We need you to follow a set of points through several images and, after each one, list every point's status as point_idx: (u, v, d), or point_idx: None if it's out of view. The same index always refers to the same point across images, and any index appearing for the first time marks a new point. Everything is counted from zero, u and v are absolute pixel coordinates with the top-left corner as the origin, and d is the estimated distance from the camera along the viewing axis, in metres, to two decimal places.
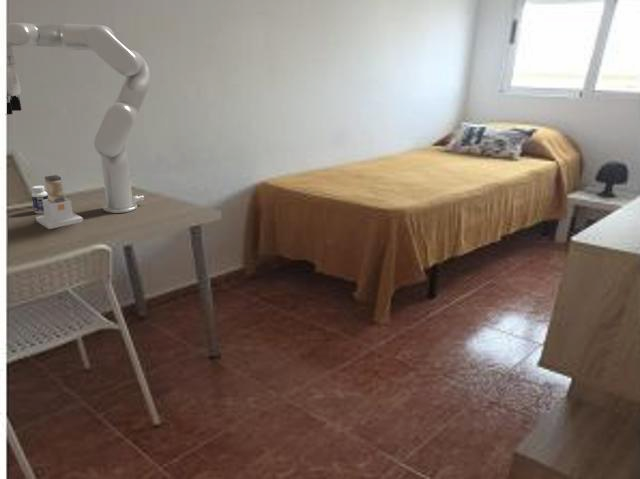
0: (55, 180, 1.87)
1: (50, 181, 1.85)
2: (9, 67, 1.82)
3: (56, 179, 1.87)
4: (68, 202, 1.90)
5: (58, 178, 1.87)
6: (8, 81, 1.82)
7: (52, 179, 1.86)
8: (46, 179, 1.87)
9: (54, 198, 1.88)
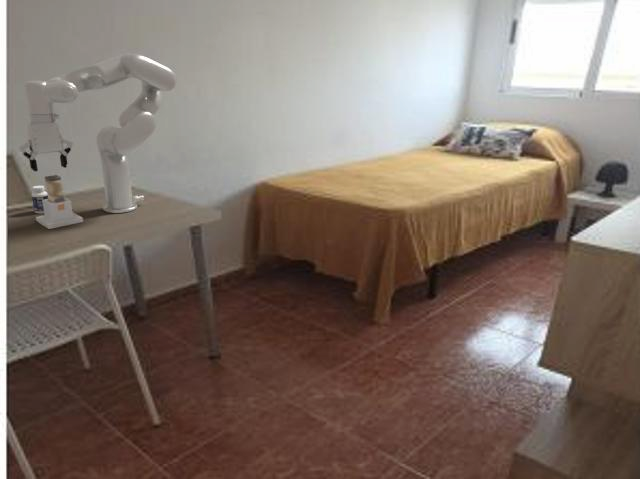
0: (55, 180, 1.87)
1: (50, 181, 1.85)
2: None
3: (56, 179, 1.87)
4: (68, 202, 1.90)
5: (58, 178, 1.87)
6: None
7: (52, 179, 1.86)
8: (46, 179, 1.87)
9: (54, 198, 1.88)
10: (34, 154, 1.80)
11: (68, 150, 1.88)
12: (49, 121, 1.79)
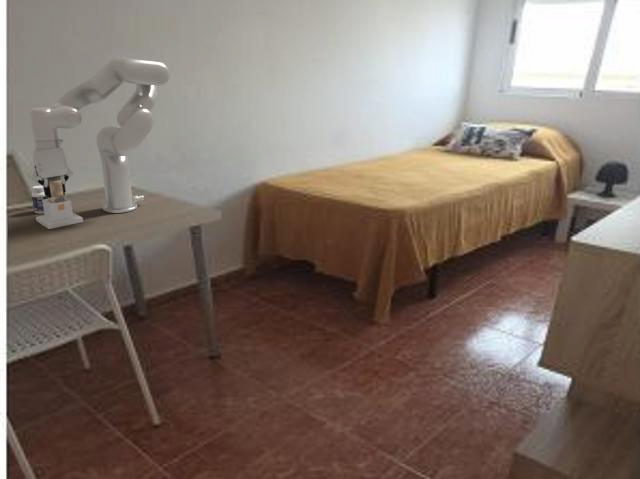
0: (55, 180, 1.87)
1: (50, 181, 1.85)
2: None
3: (56, 179, 1.87)
4: (68, 202, 1.90)
5: (58, 178, 1.87)
6: None
7: (52, 179, 1.86)
8: None
9: (54, 198, 1.88)
10: (45, 181, 1.85)
11: (66, 178, 1.90)
12: (54, 147, 1.82)
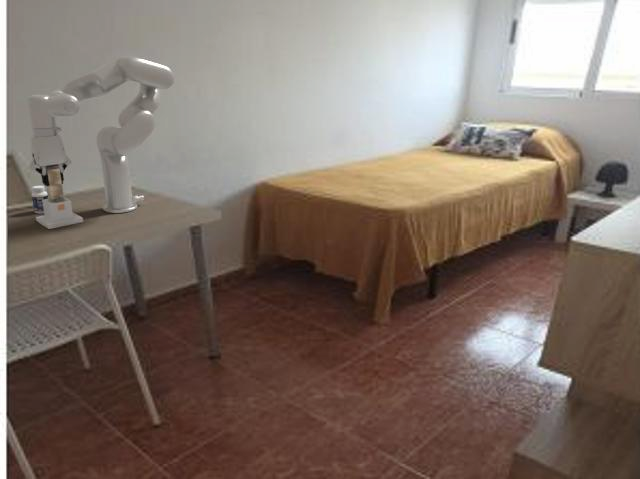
0: (54, 168, 1.85)
1: (48, 169, 1.84)
2: None
3: (54, 168, 1.85)
4: (68, 202, 1.90)
5: (56, 167, 1.86)
6: None
7: (50, 167, 1.84)
8: None
9: (52, 187, 1.86)
10: (43, 169, 1.83)
11: (64, 166, 1.89)
12: (52, 134, 1.80)
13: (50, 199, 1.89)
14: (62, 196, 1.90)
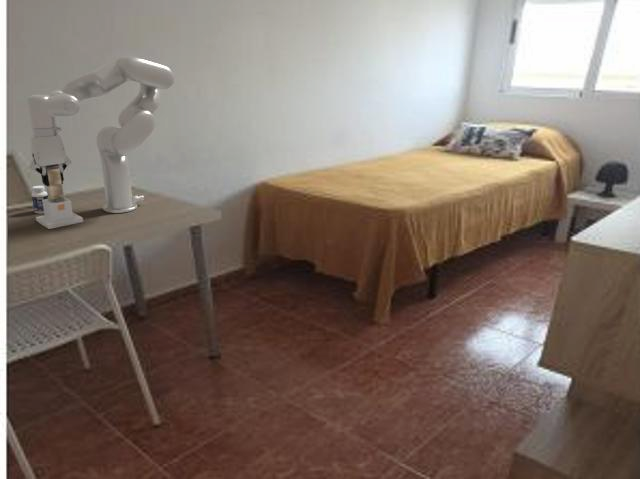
0: (54, 168, 1.85)
1: (48, 169, 1.84)
2: None
3: (54, 168, 1.85)
4: (68, 202, 1.90)
5: (56, 167, 1.86)
6: None
7: (50, 167, 1.84)
8: None
9: (52, 187, 1.86)
10: (44, 169, 1.83)
11: (64, 166, 1.89)
12: (52, 134, 1.80)
13: (50, 199, 1.89)
14: (62, 196, 1.90)
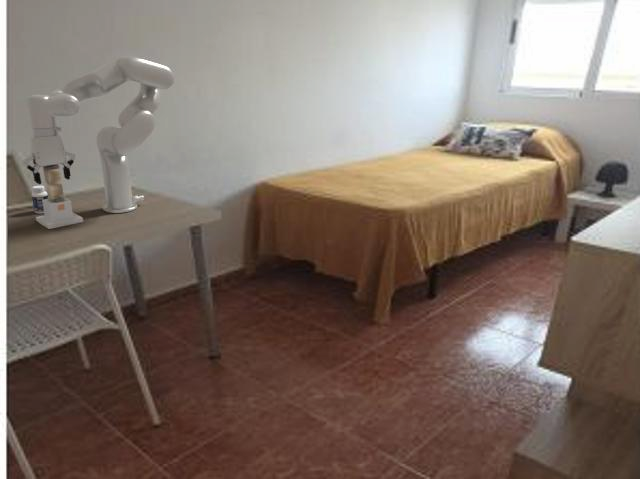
0: (54, 168, 1.85)
1: (48, 169, 1.84)
2: None
3: (54, 168, 1.85)
4: (68, 202, 1.90)
5: (56, 167, 1.86)
6: None
7: (50, 167, 1.84)
8: (44, 168, 1.85)
9: (52, 187, 1.86)
10: (37, 167, 1.82)
11: (71, 162, 1.90)
12: (52, 134, 1.80)
13: (50, 199, 1.89)
14: (62, 196, 1.90)
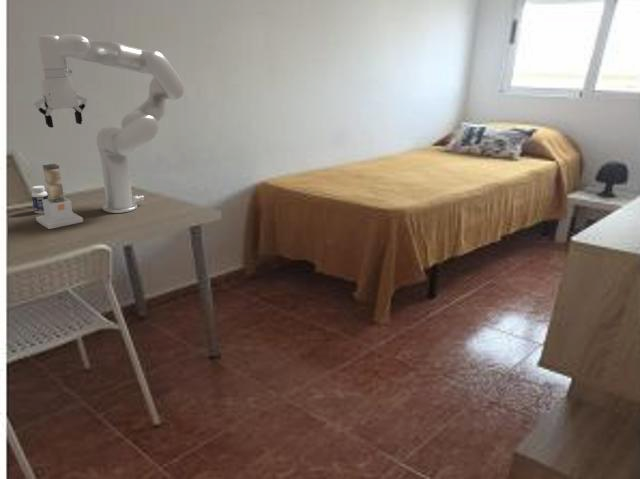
0: (54, 168, 1.85)
1: (48, 169, 1.84)
2: None
3: (54, 168, 1.85)
4: (68, 202, 1.90)
5: (56, 167, 1.86)
6: None
7: (50, 167, 1.84)
8: (44, 168, 1.85)
9: (52, 187, 1.86)
10: (49, 110, 1.80)
11: (82, 106, 1.88)
12: (63, 76, 1.78)
13: (50, 199, 1.89)
14: (62, 196, 1.90)
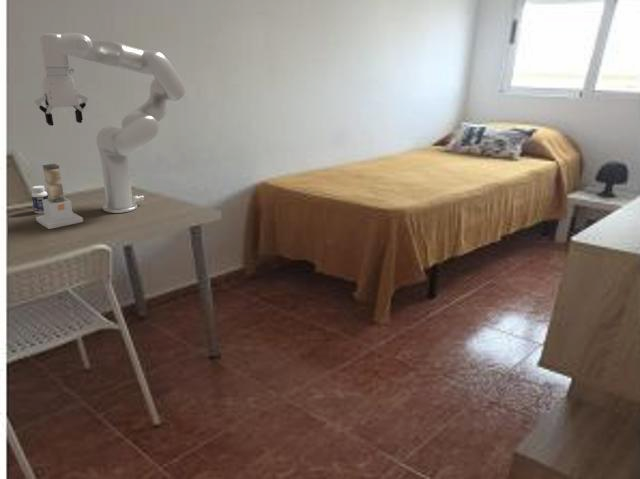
0: (54, 168, 1.85)
1: (48, 169, 1.84)
2: None
3: (54, 168, 1.85)
4: (68, 202, 1.90)
5: (56, 167, 1.86)
6: None
7: (50, 167, 1.84)
8: (44, 168, 1.85)
9: (52, 187, 1.86)
10: (50, 108, 1.80)
11: (83, 105, 1.88)
12: (64, 74, 1.78)
13: (50, 199, 1.89)
14: (62, 196, 1.90)
